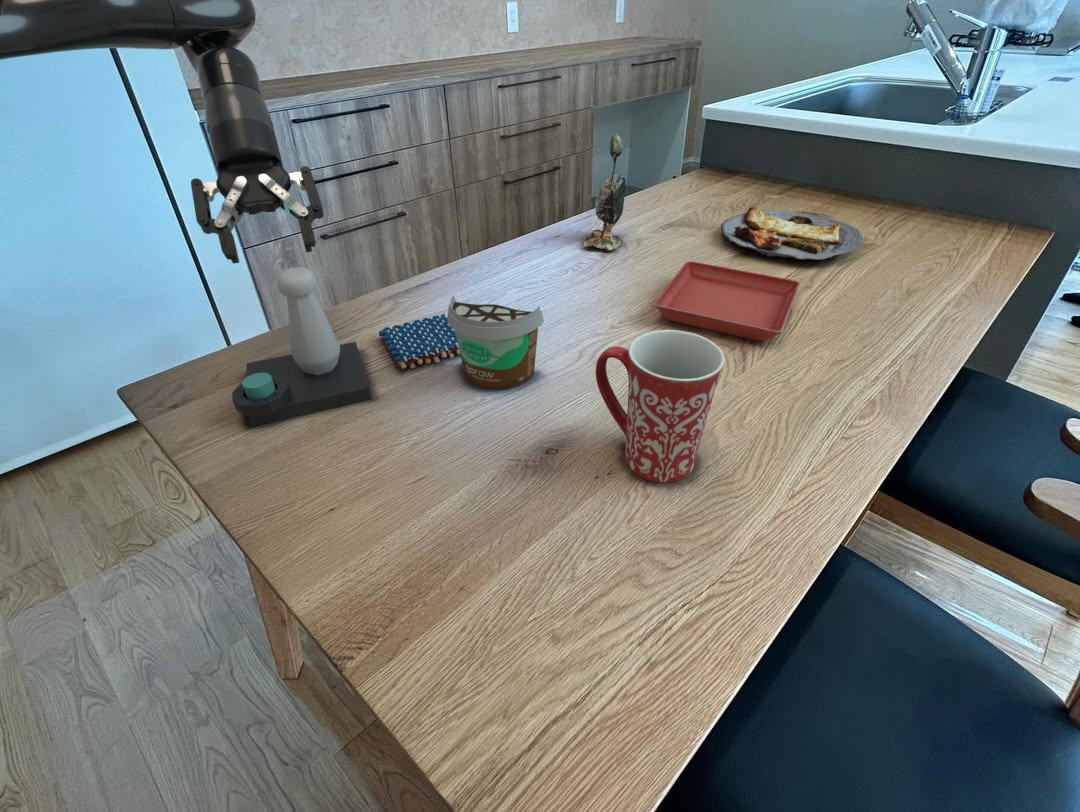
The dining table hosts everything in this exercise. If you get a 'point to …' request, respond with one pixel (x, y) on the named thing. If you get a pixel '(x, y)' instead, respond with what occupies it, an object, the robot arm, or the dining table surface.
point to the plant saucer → (728, 300)
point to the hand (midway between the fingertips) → (272, 255)
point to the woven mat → (420, 341)
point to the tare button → (258, 386)
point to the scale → (304, 388)
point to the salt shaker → (308, 323)
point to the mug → (663, 399)
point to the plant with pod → (609, 205)
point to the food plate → (791, 233)
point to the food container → (495, 343)
